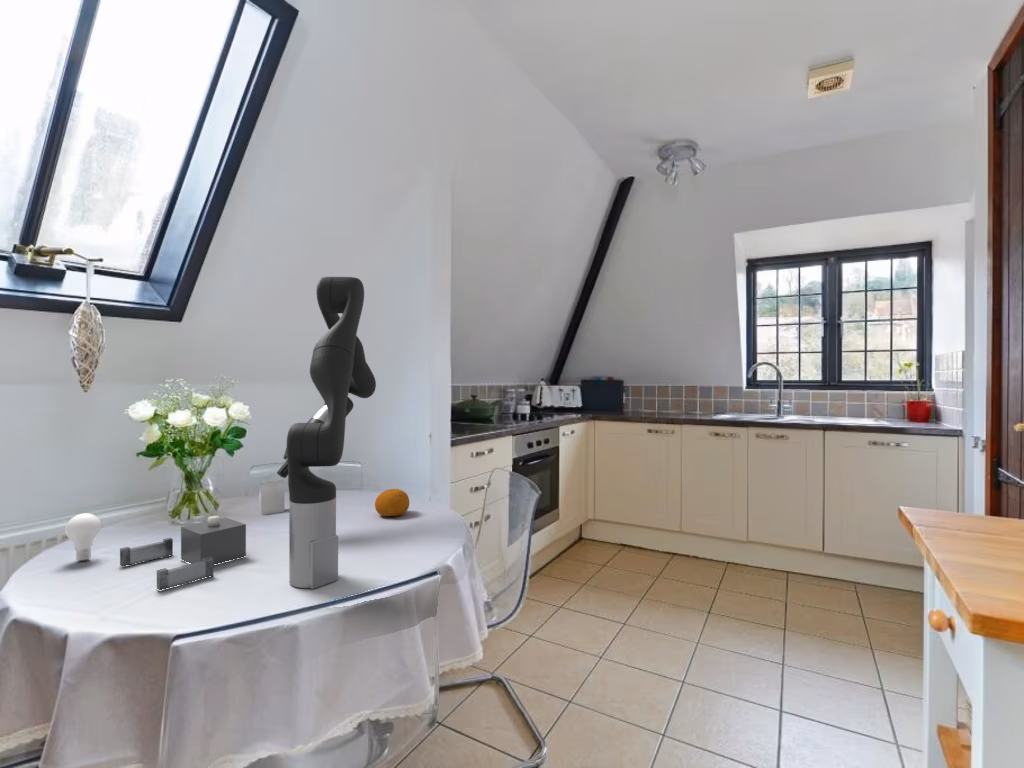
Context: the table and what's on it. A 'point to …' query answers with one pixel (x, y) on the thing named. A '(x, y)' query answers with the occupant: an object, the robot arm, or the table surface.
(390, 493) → the fruit
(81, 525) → the lightbulb
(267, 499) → the grey rectangular block
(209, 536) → the plug block
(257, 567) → the table surface
